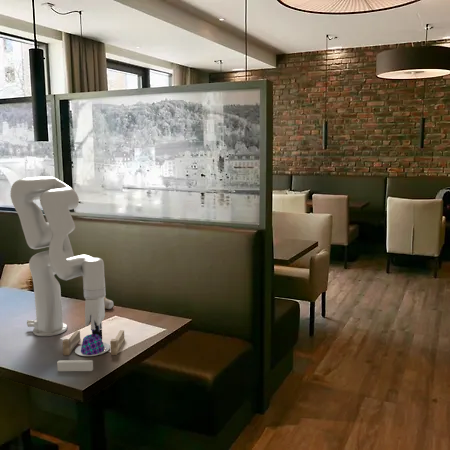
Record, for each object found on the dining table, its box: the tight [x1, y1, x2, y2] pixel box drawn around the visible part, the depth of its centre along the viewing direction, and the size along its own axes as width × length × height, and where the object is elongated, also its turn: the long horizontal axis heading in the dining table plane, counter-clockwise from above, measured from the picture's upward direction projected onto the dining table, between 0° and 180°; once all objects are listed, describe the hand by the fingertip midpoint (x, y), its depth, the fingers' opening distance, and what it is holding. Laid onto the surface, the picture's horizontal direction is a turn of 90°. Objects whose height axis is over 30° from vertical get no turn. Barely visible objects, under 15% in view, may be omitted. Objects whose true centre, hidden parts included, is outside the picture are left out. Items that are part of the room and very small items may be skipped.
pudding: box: [74, 333, 111, 357], centre depth 170 cm, size 12×12×5 cm
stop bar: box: [56, 359, 94, 372], centre depth 155 cm, size 11×2×3 cm, turn 89°
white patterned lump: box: [104, 296, 114, 310], centre depth 214 cm, size 8×10×10 cm
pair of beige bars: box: [61, 330, 125, 356], centre depth 173 cm, size 18×14×5 cm
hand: (97, 340), depth 176 cm, fingers closed
